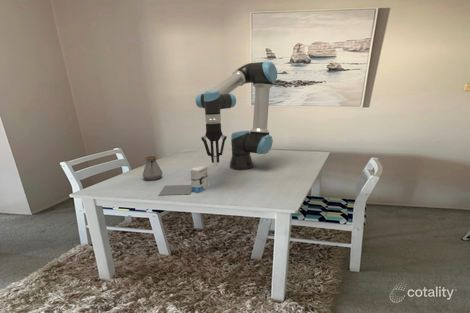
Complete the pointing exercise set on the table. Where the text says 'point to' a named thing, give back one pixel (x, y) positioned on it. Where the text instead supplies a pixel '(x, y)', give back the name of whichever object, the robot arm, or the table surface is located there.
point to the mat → (176, 190)
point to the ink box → (199, 178)
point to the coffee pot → (152, 169)
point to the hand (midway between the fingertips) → (215, 168)
